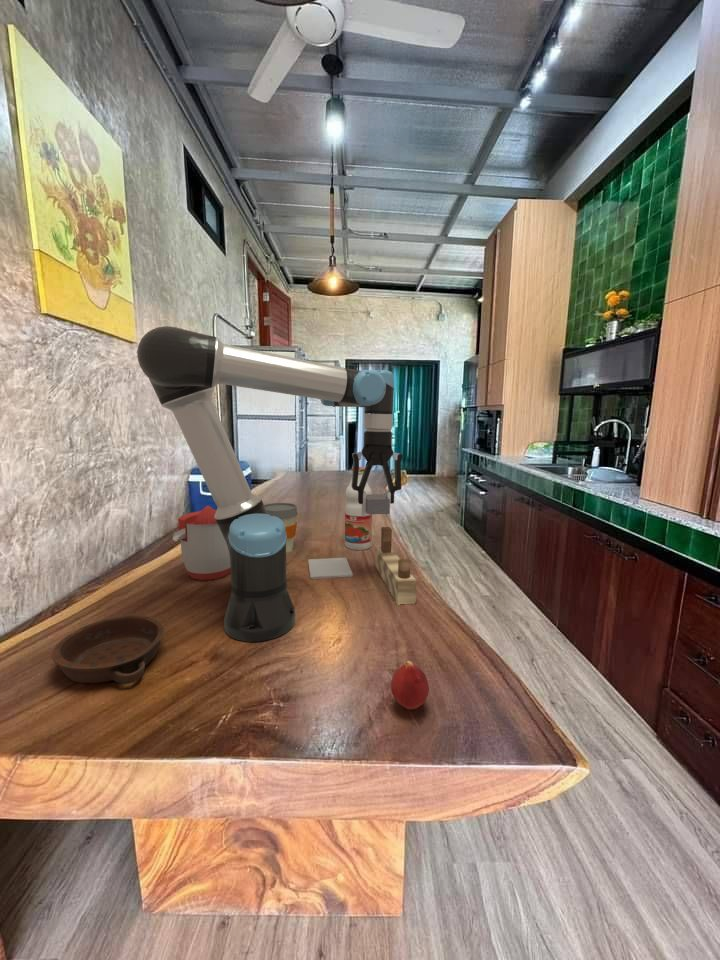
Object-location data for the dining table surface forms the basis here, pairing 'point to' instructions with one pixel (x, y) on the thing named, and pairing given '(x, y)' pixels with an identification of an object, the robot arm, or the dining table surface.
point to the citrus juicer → (203, 545)
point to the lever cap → (377, 504)
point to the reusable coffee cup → (285, 519)
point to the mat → (329, 568)
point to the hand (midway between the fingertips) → (375, 515)
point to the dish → (110, 649)
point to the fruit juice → (357, 518)
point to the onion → (410, 686)
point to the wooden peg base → (395, 570)
